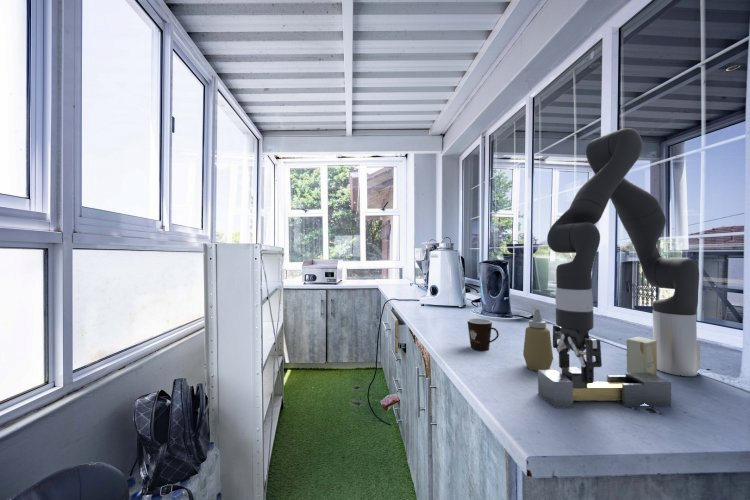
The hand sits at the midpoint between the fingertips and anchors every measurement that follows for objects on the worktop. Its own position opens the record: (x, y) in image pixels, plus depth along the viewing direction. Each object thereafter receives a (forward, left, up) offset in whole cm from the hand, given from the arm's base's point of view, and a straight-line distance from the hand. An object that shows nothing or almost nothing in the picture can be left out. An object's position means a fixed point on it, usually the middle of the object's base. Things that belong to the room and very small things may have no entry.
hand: (575, 375), depth 73 cm
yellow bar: (-4, 0, -6) cm, 7 cm away
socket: (+5, 0, -6) cm, 8 cm away
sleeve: (-15, 0, -6) cm, 16 cm away
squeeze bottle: (-1, -20, -6) cm, 21 cm away
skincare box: (-22, -8, -6) cm, 25 cm away
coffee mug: (+10, -38, -6) cm, 40 cm away
